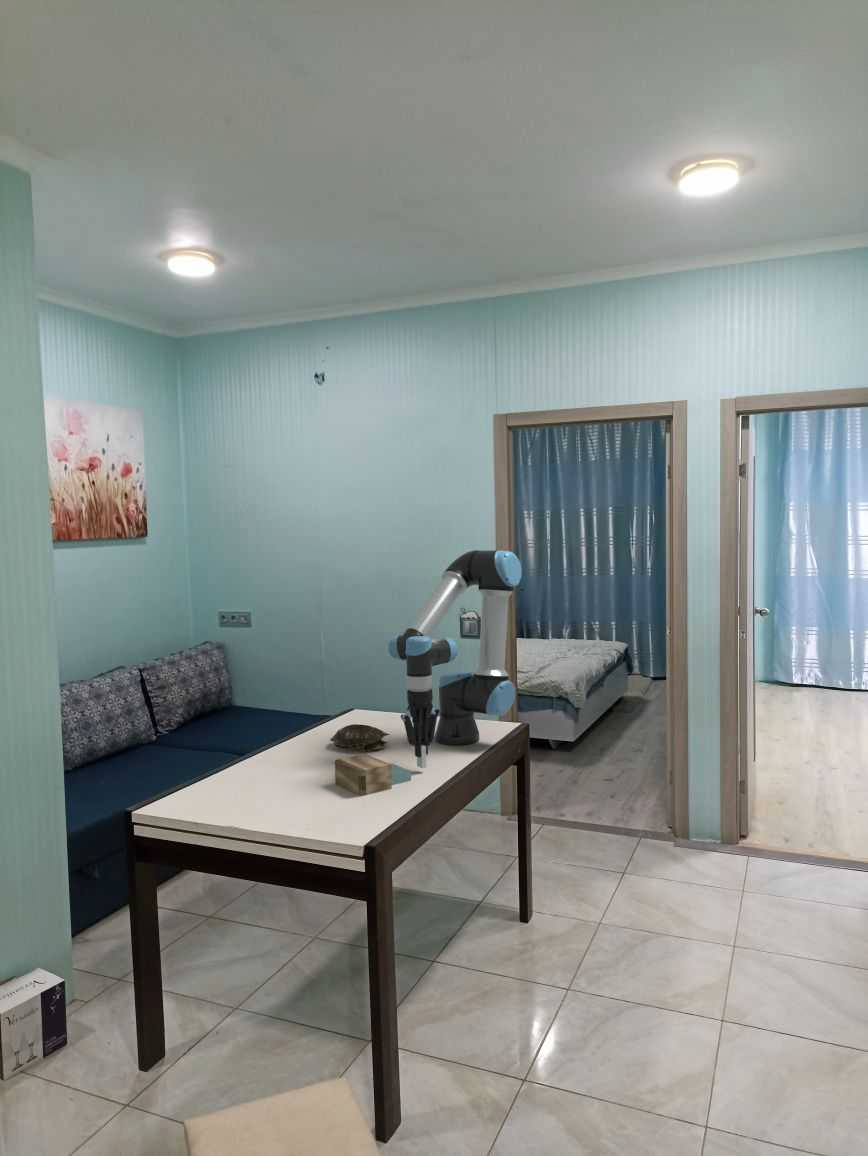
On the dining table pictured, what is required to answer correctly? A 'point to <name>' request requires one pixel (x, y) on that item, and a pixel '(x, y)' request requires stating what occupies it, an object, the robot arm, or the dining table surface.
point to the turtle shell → (359, 738)
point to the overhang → (363, 774)
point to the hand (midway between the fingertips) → (421, 766)
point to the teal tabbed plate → (399, 774)
